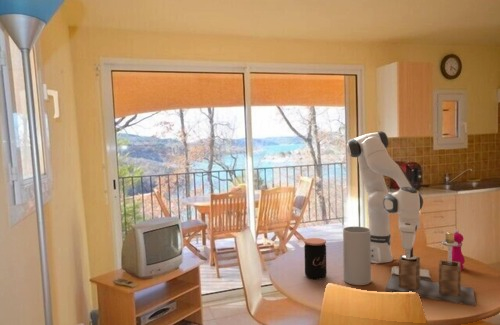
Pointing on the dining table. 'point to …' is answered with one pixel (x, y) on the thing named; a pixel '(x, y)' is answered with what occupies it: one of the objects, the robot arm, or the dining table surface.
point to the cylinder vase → (357, 255)
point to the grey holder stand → (443, 290)
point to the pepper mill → (458, 249)
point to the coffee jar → (315, 258)
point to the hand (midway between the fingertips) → (409, 254)
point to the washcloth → (423, 273)
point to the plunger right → (449, 245)
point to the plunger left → (412, 257)
